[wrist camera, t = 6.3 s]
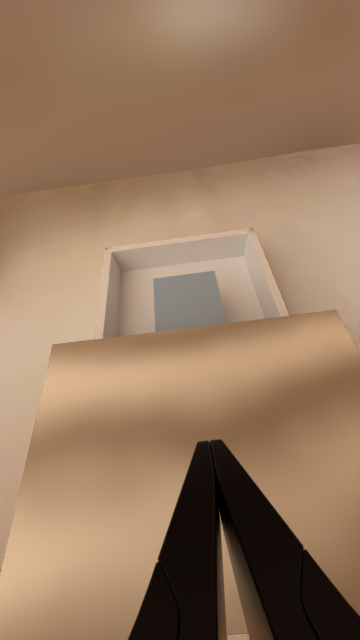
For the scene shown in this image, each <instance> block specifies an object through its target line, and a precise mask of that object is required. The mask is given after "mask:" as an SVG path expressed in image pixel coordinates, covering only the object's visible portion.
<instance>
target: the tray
mask: <svg viewBox="0 0 360 640" xmlns="http://www.w3.org/2000/svg"><path fill="white" fill-rule="evenodd" d="M208 271H215V275H216V279H217V284H218V288H219V293H220V297H221V301H222V306H223V310H224V314H225V319H226V323H234V322H242V321H250V320H259V319H267V318H275V317H283V316H289V313H288V311H287V308H286V306H285V303H284V301H283V299H282V296H281V294H280V291H279V289H278V286H277V284H276V281H275V279H274V277H273V274H272V272H271V269H270V267H269V264H268V262H267V259H266V257H265V254H264V252H263V250H262V247H261V245H260V242H259V240H258V237H257V235H256V232H255V230H254V228H249V229H242V230H235V231H227V232H220V233H213V234H205V235H198V236H191V237H183V238H176V239H169V240H161V241H154V242H146V243H139V244H132V245H124V246H117V247H110V248H105V256H104V264H103V272H102V281H101V289H100V297H99V305H98V313H97V321H96V329H95V338H94V340H95V339H103V338H111V337H119V336H127V335H136V334H144V333H152V332H155V311H154V283H153V279H154V278H162V277H170V276H177V275H185V274H193V273H201V272H208Z"/></svg>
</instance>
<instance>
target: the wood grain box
mask: <svg viewBox="0 0 360 640" xmlns="http://www.w3.org/2000/svg"><path fill="white" fill-rule="evenodd" d="M214 439H222V440H223V442H224V443H225V444H226V445H227V447H228V448H229V449H230V451H231V452H232V453H233V455H234V456H235V457H236V458H237V460H238V461H239V462H240V464H241V465H242V466H243V468H244V469H245V470H246V471H247V473H248V474H249V475H250V477H251V478H252V479H253V481H254V482H255V483H256V485H257V486H258V487H259V488H260V490H261V491H262V492H263V494H264V495H265V496H266V498H267V499H268V500H269V501H270V503H271V504H272V505H273V507H274V508H275V509H276V511H277V512H278V513H279V515H280V516H281V517H282V518H283V520H284V521H285V522H286V524H287V525H288V526H289V528H290V529H291V530H292V531H293V533H294V534H295V535H296V537H297V538H298V539H299V541H300V542H301V543H302V544H303V546H304V549H306V550H307V551H308V552H309V553H310V555H311V556H312V557H313V559H314V560H315V561H316V562H317V564H318V565H319V566H320V568H321V569H322V570H323V572H324V573H325V574H326V575H327V577H328V578H329V579H330V580H331V582H332V583H333V584H334V585H335V587H336V588H337V589H338V590H339V592H340V593H341V594H342V595H343V597H344V598H345V599H346V600H347V602H348V603H349V604H350V605H351V606H352V607H353V609H354V610H355V611H356V612H357V613H358V614H359V615H360V353H359V351H358V349H357V347H356V346H355V344H354V342H353V340H352V338H351V336H350V335H349V333H348V331H347V329H346V327H345V326H344V324H343V322H342V320H341V318H340V316H339V315H338V313H337V311H336V310H332V311H324V312H316V313H308V314H300V315H291V316H283V317H275V318H267V319H259V320H250V321H242V322H234V323H226V324H218V325H209V326H201V327H193V328H185V329H177V330H168V331H160V332H152V333H144V334H136V335H127V336H119V337H111V338H103V339H95V340H86V341H78V342H70V343H62V344H54V345H52V350H51V354H50V359H49V363H48V367H47V372H46V376H45V381H44V385H43V389H42V394H41V398H40V403H39V407H38V411H37V416H36V420H35V425H34V429H33V433H32V438H31V442H30V447H29V451H28V455H27V460H26V464H25V469H24V473H23V477H22V482H21V486H20V491H19V495H18V499H17V504H16V508H15V513H14V517H13V521H12V526H11V530H10V535H9V539H8V543H7V548H6V552H5V556H4V561H3V565H2V570H1V574H0V640H127V639H128V637H129V635H130V632H131V630H132V627H133V625H134V622H135V620H136V617H137V615H138V612H139V609H140V607H141V604H142V601H143V598H144V596H145V593H146V590H147V587H148V585H149V582H150V579H151V576H152V573H153V570H154V567H155V564H156V562H158V556H159V553H160V550H161V547H162V544H163V541H164V538H165V535H166V532H167V529H168V526H169V523H170V520H171V518H172V515H173V512H174V509H175V506H176V503H177V500H178V497H179V494H180V491H181V488H182V485H183V482H184V479H185V476H186V473H187V470H188V467H189V465H190V462H191V459H192V456H193V453H194V450H195V447H196V444H197V442H198V441H205V440H208V441H209V442H210V440H214ZM220 523H221V518H220ZM221 537H222V556H223V574H224V592H225V611H226V629H227V635H235V634H248V630H247V626H246V622H245V618H244V614H243V610H242V605H241V601H240V597H239V593H238V589H237V585H236V581H235V577H234V573H233V569H232V565H231V561H230V557H229V553H228V549H227V545H226V541H225V537H224V533H223V528H222V524H221Z"/></svg>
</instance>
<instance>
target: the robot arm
mask: <svg viewBox="0 0 360 640" xmlns="http://www.w3.org/2000/svg"><path fill="white" fill-rule="evenodd" d="M220 518H221V523H220ZM221 524H222V528H223V533H224V537H225V541H226V545H227V549H228V553H229V557H230V561H231V565H232V569H233V573H234V577H235V581H236V585H237V589H238V593H239V597H240V601H241V605H242V610H243V614H244V618H245V622H246V626H247V630H248V634H249V638H250V640H360V615H359V614H358V613H357V612H356V611H355V610H354V609H353V607H352V606H351V605H350V604H349V603H348V602H347V600H346V599H345V598H344V597H343V595H342V594H341V593H340V592H339V590H338V589H337V588H336V587H335V585H334V584H333V583H332V582H331V580H330V579H329V578H328V577H327V575H326V574H325V573H324V572H323V570H322V569H321V568H320V566H319V565H318V564H317V562H316V561H315V560H314V559H313V557H312V556H311V555H310V553H309V552H308V551H307V550H306V549H304V546H303V544H302V543H301V542H300V541H299V539H298V538H297V537H296V535H295V534H294V533H293V531H292V530H291V529H290V528H289V526H288V525H287V524H286V522H285V521H284V520H283V518H282V517H281V516H280V515H279V513H278V512H277V511H276V509H275V508H274V507H273V505H272V504H271V503H270V501H269V500H268V499H267V498H266V496H265V495H264V494H263V492H262V491H261V490H260V488H259V487H258V486H257V485H256V483H255V482H254V481H253V479H252V478H251V477H250V475H249V474H248V473H247V471H246V470H245V469H244V468H243V466H242V465H241V464H240V462H239V461H238V460H237V458H236V457H235V456H234V455H233V453H232V452H231V451H230V449H229V448H228V447H227V445H226V444H225V443H224V442H223V440H222V439H214V440H210V442H209V441H208V440H205V441H198V442H197V444H196V447H195V450H194V453H193V456H192V459H191V462H190V465H189V467H188V470H187V473H186V476H185V479H184V482H183V485H182V488H181V491H180V494H179V497H178V500H177V503H176V506H175V509H174V512H173V515H172V518H171V520H170V523H169V526H168V529H167V532H166V535H165V538H164V541H163V544H162V547H161V550H160V553H159V556H158V562H156V564H155V567H154V570H153V573H152V576H151V579H150V582H149V585H148V587H147V590H146V593H145V596H144V598H143V601H142V604H141V607H140V609H139V612H138V615H137V617H136V620H135V622H134V625H133V627H132V630H131V632H130V635H129V637H128V639H127V640H227V629H226V611H225V592H224V574H223V556H222V537H221Z"/></svg>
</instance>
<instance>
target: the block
mask: <svg viewBox="0 0 360 640" xmlns="http://www.w3.org/2000/svg"><path fill="white" fill-rule="evenodd" d="M153 283H154V311H155V332H160V331H168V330H177V329H185V328H193V327H201V326H209V325H218V324H226V319H225V314H224V310H223V306H222V301H221V297H220V293H219V288H218V284H217V279H216V275H215V271H208V272H201V273H193V274H185V275H177V276H170V277H162V278H154V279H153Z"/></svg>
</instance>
